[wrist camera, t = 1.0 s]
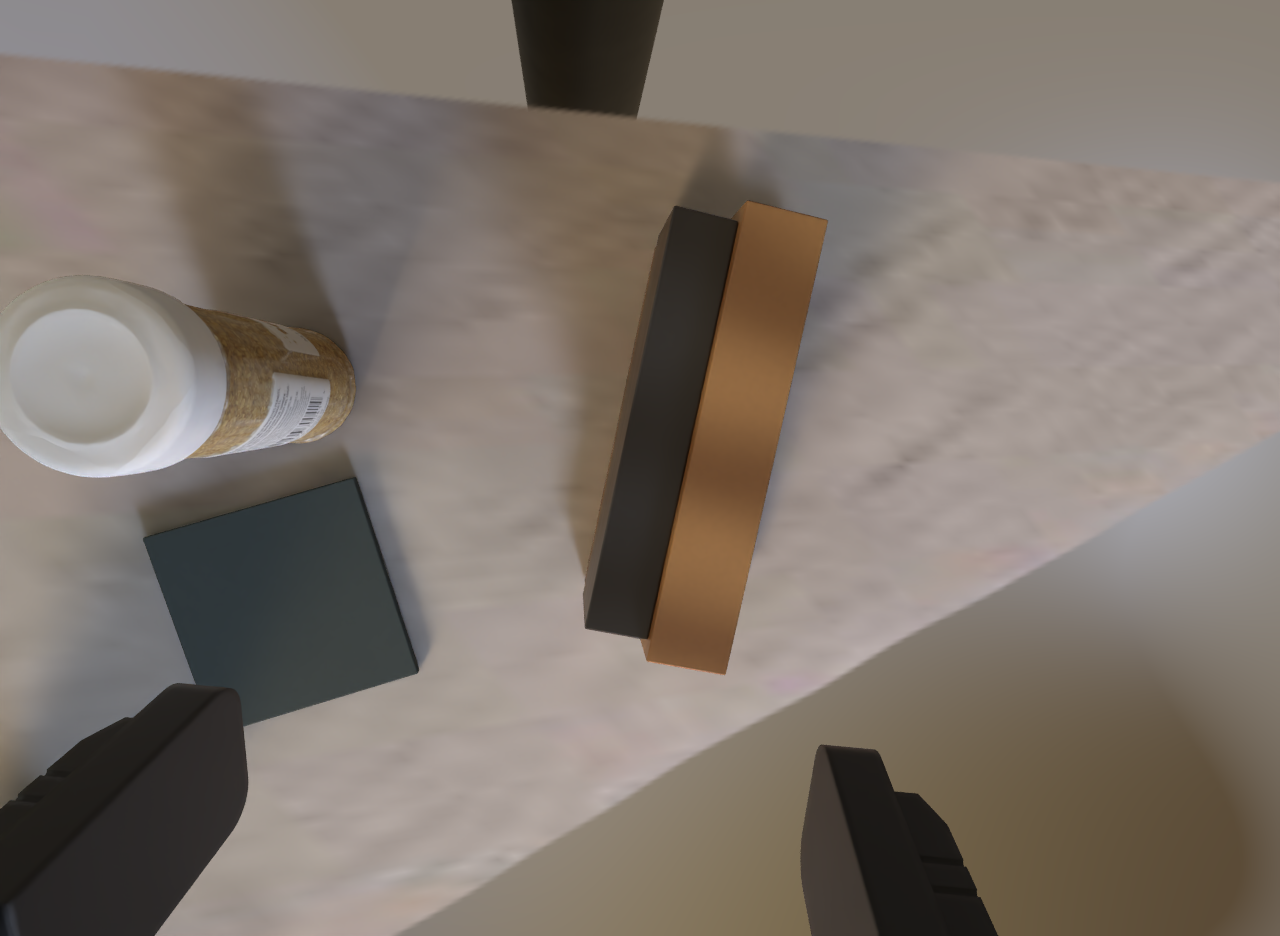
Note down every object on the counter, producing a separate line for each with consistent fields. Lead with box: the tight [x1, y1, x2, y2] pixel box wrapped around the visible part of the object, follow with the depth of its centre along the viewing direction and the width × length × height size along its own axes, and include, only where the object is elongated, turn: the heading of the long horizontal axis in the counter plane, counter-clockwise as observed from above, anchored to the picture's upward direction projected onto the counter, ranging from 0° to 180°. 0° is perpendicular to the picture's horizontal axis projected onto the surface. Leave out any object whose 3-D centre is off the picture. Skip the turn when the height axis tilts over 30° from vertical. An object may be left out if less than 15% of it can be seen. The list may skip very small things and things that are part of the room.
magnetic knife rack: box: [583, 200, 828, 675], centre depth 27 cm, size 14×6×9 cm, turn 168°
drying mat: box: [143, 477, 419, 726], centre depth 30 cm, size 8×8×1 cm
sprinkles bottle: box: [0, 275, 356, 477], centre depth 23 cm, size 5×5×13 cm
